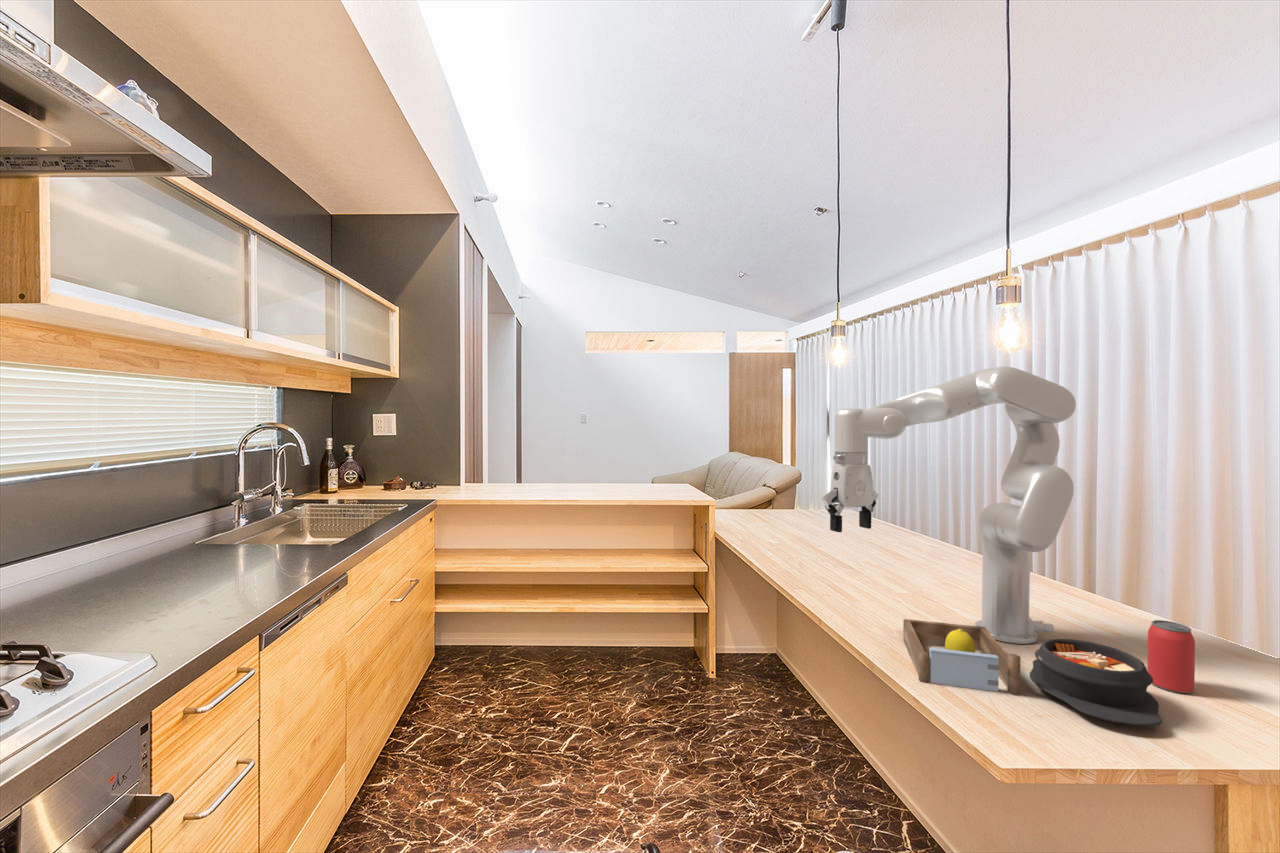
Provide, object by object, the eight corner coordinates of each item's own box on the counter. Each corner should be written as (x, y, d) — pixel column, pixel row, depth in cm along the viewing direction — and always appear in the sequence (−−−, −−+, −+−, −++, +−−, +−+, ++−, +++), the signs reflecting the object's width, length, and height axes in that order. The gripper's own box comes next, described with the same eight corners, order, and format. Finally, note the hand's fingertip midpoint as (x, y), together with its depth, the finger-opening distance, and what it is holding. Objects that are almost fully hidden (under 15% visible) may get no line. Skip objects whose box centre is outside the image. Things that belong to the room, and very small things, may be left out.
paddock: (986, 649, 123) (986, 618, 123) (1021, 695, 102) (1022, 658, 102) (902, 639, 128) (902, 610, 128) (919, 682, 108) (920, 647, 107)
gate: (996, 688, 105) (996, 655, 105) (998, 692, 104) (998, 658, 104) (929, 679, 109) (929, 647, 109) (930, 683, 107) (931, 650, 107)
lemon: (969, 675, 110) (970, 636, 110) (940, 666, 115) (940, 628, 114) (979, 667, 114) (979, 629, 114) (950, 658, 118) (950, 622, 118)
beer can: (1183, 697, 102) (1184, 634, 102) (1139, 682, 108) (1140, 621, 108) (1201, 690, 104) (1202, 628, 104) (1157, 675, 110) (1158, 617, 110)
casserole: (1008, 663, 116) (1009, 624, 116) (1113, 674, 111) (1114, 634, 111) (1062, 726, 92) (1063, 677, 92) (1199, 745, 87) (1200, 693, 87)
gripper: (836, 461, 125) (836, 535, 125) (889, 459, 133) (888, 529, 133) (812, 459, 132) (812, 529, 132) (864, 457, 139) (863, 523, 140)
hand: (850, 529), depth 133 cm, fingers open, 9 cm apart
